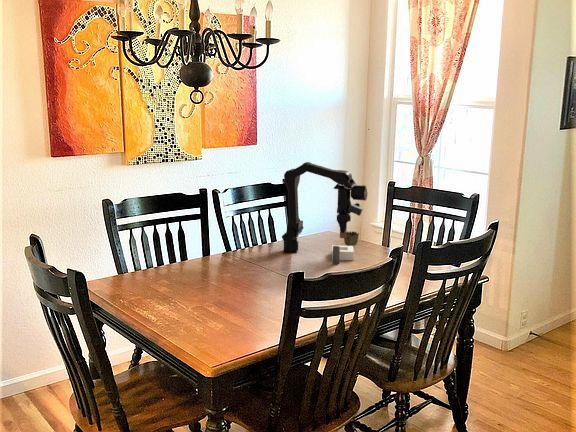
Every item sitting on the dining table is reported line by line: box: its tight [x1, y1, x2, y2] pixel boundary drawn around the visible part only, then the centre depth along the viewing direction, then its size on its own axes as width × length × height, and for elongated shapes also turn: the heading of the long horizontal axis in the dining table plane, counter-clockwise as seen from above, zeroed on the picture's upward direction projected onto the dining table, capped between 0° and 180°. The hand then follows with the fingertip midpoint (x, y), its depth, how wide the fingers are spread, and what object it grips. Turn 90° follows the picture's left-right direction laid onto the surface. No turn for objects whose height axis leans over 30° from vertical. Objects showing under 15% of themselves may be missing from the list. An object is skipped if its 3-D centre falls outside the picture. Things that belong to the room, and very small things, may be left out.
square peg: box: [339, 223, 348, 239], centre depth 272 cm, size 3×3×8 cm
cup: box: [343, 231, 360, 249], centre depth 288 cm, size 8×7×8 cm
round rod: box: [332, 245, 341, 266], centre depth 264 cm, size 3×3×8 cm
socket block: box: [331, 244, 355, 261], centre depth 275 cm, size 10×10×4 cm
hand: (343, 231), depth 273 cm, fingers closed on square peg, 3 cm apart
